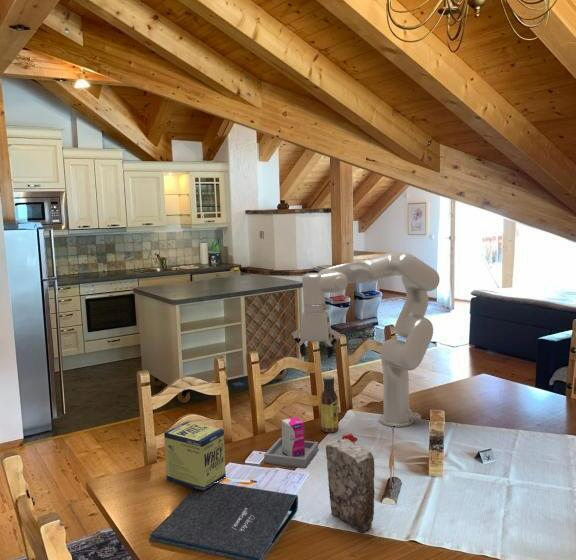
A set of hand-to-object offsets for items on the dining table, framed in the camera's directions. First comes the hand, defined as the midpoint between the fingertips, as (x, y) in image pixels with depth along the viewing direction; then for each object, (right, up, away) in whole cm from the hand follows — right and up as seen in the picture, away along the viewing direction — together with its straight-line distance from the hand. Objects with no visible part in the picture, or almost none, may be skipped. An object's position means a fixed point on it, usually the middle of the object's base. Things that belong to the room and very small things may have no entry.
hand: (316, 356), depth 195 cm
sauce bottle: (+5, -29, +10) cm, 31 cm away
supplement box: (-8, -31, -12) cm, 34 cm away
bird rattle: (+9, -32, -20) cm, 39 cm away
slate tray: (-9, -32, -12) cm, 35 cm away
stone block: (+7, -36, -51) cm, 63 cm away
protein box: (-38, -34, -25) cm, 57 cm away
